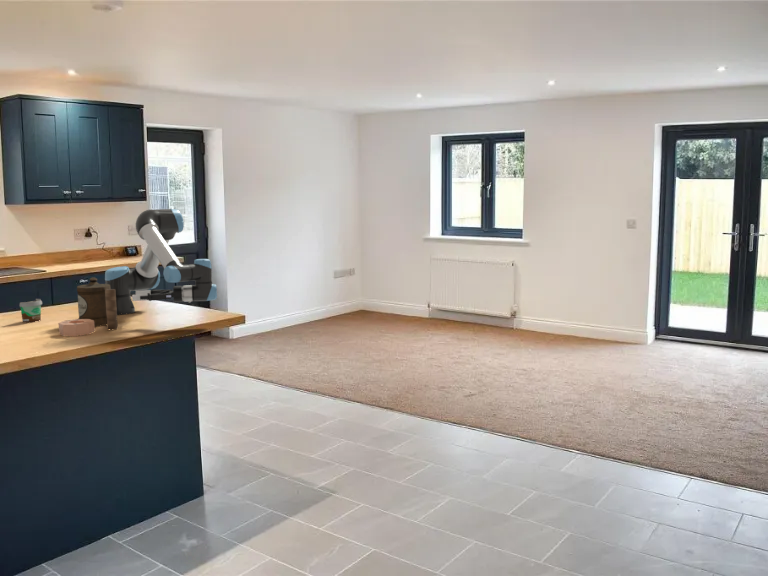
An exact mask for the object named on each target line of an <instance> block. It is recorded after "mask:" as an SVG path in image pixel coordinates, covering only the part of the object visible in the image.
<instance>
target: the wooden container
mask: <svg viewBox="0 0 768 576" xmlns="http://www.w3.org/2000/svg"><path fill="white" fill-rule="evenodd" d="M107 289H110V285H109V284H105V283H99V282H98V278H96V277H95V276H94V277H93V276H92V277H90V278H89V283H88V284H81V285H77V286H76V291H77V307H78V308H77V310H78V319H91V320H94V325H95V327H99V326H100V325H101V326H105V325H106V324H107V314H106V297H105V290H107ZM106 326H107V325H106Z"/></svg>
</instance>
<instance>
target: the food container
mask: <svg viewBox="0 0 768 576" xmlns="http://www.w3.org/2000/svg"><path fill="white" fill-rule="evenodd" d="M42 305H43V301H42V300H41V298H35V300H32V301H27V302H26V301H24V302H19V308H20V313H21V320H22V323H23V322H30V323H36V322H35V321H38V322H40V321H41V320H42V319H41V317H42V316H41V314H42V310H41V309H42ZM39 320H40V321H39Z"/></svg>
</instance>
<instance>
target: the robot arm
mask: <svg viewBox="0 0 768 576" xmlns="http://www.w3.org/2000/svg"><path fill="white" fill-rule="evenodd" d="M184 222H185V221H184V218H183V215H182V213H181V211H180V210H179V209H176V208H173V209H172V208H160V209H159V208H158V209H146V210H144V211H141V213H140V214H138V217H137V218H136V221H135V230H136V233H137V235H138V236H139V238H140V239H142V240H143V241H145V242H146V244H147V246H146V248H145V251H144V253H143V256H142V258H141V260H140V261H138V262H137V263H136V265H135V266H134V268H129V266H116V267H111V268H108V269H107V270H105V272H104V273H105V274H104V280H105V283H104V284H109V285H110V289H115V290H116V307H117V316H120V315H123V316H124V315H129V314H133V313H135V312H136V308H135V305H134V303H133V302H136V301H137V302H138V301H139V302H140V301H142V302H143V301H149V302H151V301H160V300H171V299H172V298H173V302H174V303H182V302H184V303H185V302H188V303H191V302H208V301H209V302H210V301H216V300H217V299H218V292H217V289H218V288H217V287H218V286H217V284H215V283H213V279H212V278H213V277H212V273H213V272H212V269H213V268H212V262H211V260H210V259H209V258H197V259H194V260H193V261H194V262H193V263H190V264H183V263H182V262H181V261H180V260H179V258H178V256H177V255H176V253H175V252H174V251H173V249H172V247H170V246H169V242H170V241H171V240H173V239H174V237H175V236H176V233H177V234H180V233H181V232H183V230H184V225H185V223H184ZM159 264H161V266H162V267H163V272H162V273H163V277H164V280H165V282H167V283H170V284H171V283H175V284H177V283H181V282H182V283H183V282H191V281H192V282H193V281H194V283H195V284H190V285H189V284H188V285H187V284H186V285H174V286H173V287H172V289H156V288H157V287H158V286H159V284H160V282H161V273H160V271H159ZM134 291H135V294H132V295H131V292H134ZM131 296H132V297H131Z"/></svg>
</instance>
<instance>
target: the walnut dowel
mask: <svg viewBox="0 0 768 576" xmlns="http://www.w3.org/2000/svg"><path fill="white" fill-rule="evenodd" d="M105 297H106V314H107V325H106V329H110V330H109V331H113V330H112V329H115V330H118V329H119V327H118V326H119V325H118V315H117V307H116V290H115V289H107V290H105Z"/></svg>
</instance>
